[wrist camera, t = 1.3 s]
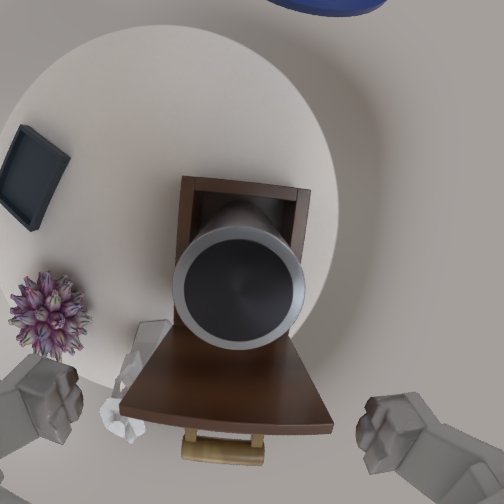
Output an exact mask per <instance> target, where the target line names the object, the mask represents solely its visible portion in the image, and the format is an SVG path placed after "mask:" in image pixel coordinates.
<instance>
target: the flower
mask: <svg viewBox="0 0 504 504" xmlns="http://www.w3.org/2000/svg"><path fill="white" fill-rule="evenodd" d="M67 279H68V276H66V275H64V274H63V276H62V277H61V278H60V279H59V280H55V283H54V282H53V280H52V278H51V276H50V271H48V272H46V273H45V276H44V273H43V272H39V278H38V281H37V284H36V283H35V282H33V281H31V280H30V279H29V278H28V276H27V277H25V278H24V281H25V283H26V287H25V286H23V285H22V284H21V285H19V289H20V290H21V293H22V296H15V295H13V294H11V299H13V300H14V301H15V302H16V304H17V305H18V306H17V307H15V308H11V309H10V313H11V314H14V315H15V317H14V318H12V319H10V320H8V321H9V325H15V326H17V327H19V328H21V331H20V334H19V335H17V337H16V338H17V341H20V340H21V341H20V342H19V343H20V345H21V346H22V347H24V346H25V345H28V344H32V348H33V350H34V354H36V355H40V354H41V353H42V357H44V358H47V354H48V352H49V353H50V355H51V357H52V358H56V360H57V362H60V363H62V358H61V355H62V352H63V351H64V352H65V353H66V351H68V352H69V353H70V354H71V355H72V356H74V354H75V351H74V349H73V348H76V349H78V350H79V351H81V350H82V349H83V348H84V347H83V345H82V344H81V343H80V341H79V337H78V335H81V334H84V335H86V334H87V330H85V329H84V328H83V326H84V325H86V324H88V323H92V317H90V316H87V315H85V314H84V313H87V311H88V310H87V309H83V308H80V307H82V304H81V302H80V301H81V299H82V298H83V297H84V296H85V295H84V292H83V293H80V294H79V293H78V292H77V291H75V292H73V293H71V287H72V285H73V283H72V281H70V280H69V281H68V282H67Z"/></svg>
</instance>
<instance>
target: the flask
mask: <svg viewBox="0 0 504 504" xmlns="http://www.w3.org/2000/svg"><path fill="white" fill-rule="evenodd" d="M172 293H173V300H174V304H175V307H176V309H177V312H178V314H179V316H180V318H181V319H182V321H183V322H184V324H185V325H186V326H187V327H188V328H189V329H190V330H191V332H193V333H194V334H195V335H196V336H197V337H199V338H200V339H202V340H203V341H205V342H207V343H209V344H211V345H214V346H216V347H219V348H224V349H229V350H249V349H255V348H259V347H262V346H264V345H267V344H269V343H271V342H273V341H275V340H276V339H278V338H279V337H281V336H282V335H283V334H284V333H285V332H287V331H288V329H289V328H290V327H291V326H292V325H293V323H294V322H295V320H296V319H297V317H298V315H299V313H300V311H301V309H302V306H303V302H304V297H305V279H304V274H303V270H302V268H301V265H300V263H299V261H298V259H297V257H296V256H295V254H294V253H293V251H292V250H291V248H290V247H289V246H288V244H287V243H286V241H285V240H284V239H283V237H282V236H281V234H280V233H279V231H278V230H277V229H276V227H275V226H274V224H273V223H272V222H271V220H270V219H269V218H268V216H267V215H266V213H265V212H264V211H263V209H262V208H261V207H260V206H258V205H257V204H255V203H253V202H251V201H248V200H234V201H231V202H228V203H226V204H225V205H223V206H222V207H221V208H220V209H219V210H218V211H217V212H216V214H215V215H214V216H213V217H212V218H211V220H210V221H209V222H208V223H207V224H206V226H205V227H204V228H203V229H202V230H201V232H200V233H199V234H198V235H197V236H196V238H195V239H194V240H193V241H192V243H191V244H190V245H189V246H188V247H187V249H186V250H185V251H184V253H183V254H182V256H181V257H180V259H179V261H178V263H177V265H176V268H175V271H174V275H173V280H172Z"/></svg>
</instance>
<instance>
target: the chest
mask: <svg viewBox="0 0 504 504" xmlns="http://www.w3.org/2000/svg"><path fill="white" fill-rule="evenodd" d="M310 194H311V190H308V189H301V188H293V187H286V186H278V185H270V184H262V183H254V182H245V181H235V180H225V179H215V178H204V177H192V176H182V182H181V192H180V204H179V216H178V229H177V245H176V263H175V268H176V265H177V263H178V261H179V259H180V257H181V256H182V254H183V253H184V251H185V250H186V249H187V247H188V246H189V245H190V244H191V243H192V241H193V240H194V239H195V238H196V236H197V235H198V234H199V233H200V232H201V230H202V229H203V228H204V227H205V226H206V224H207V223H208V222H209V221H210V220H211V218H212V217H213V216H214V215H215V214H216V212H217V211H218V210H219V209H220V208H221V207H222V206H223V205H225V204H226V203H228V202H231V201H234V200H248V201H251V202H253V203H255V204H257V205H258V206H260V207H261V208H262V209H263V211H264V212H265V213H266V215H267V216H268V218H269V219H270V220H271V222H272V223H273V224H274V226H275V227H276V229H277V230H278V231H279V233H280V234H281V236H282V237H283V239H284V240H285V241H286V243H287V244H288V246H289V247H290V248H291V250H292V251H293V253H294V254H295V256H296V257H297V259H298V261H299V263H300V264H301V258H302V251H303V245H304V238H305V231H306V224H307V217H308V210H309V202H310ZM174 325H180V326H186V325H185V324H184V322H183V321H182V319H181V318H180V316H179V314H178V312H177V309H176V307H175V304H174ZM288 334H289V329H288V331H287V332H285V333H284V334H283V335H282V336H288Z"/></svg>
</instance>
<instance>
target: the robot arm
mask: <svg viewBox="0 0 504 504" xmlns="http://www.w3.org/2000/svg"><path fill="white" fill-rule="evenodd" d="M78 379H79V378H78V374H77V370H76V369H75V368H74V367H72V366H69V365H66V364H63V363H60V362H57V361H54V360H51V359H48V358H44V357H42V356H39V355H36V354H29V355H28V356H27V357H26V358H25V359H24V360H23V361H22V362H20V363H19V364H18V365H17V366H16V367H15V368H14V369H13V370H12V371H11V372H10V373H9V374H8V375H7V376H6V377H5V378H4V379H3V380H2V381H1V380H0V459H1V458H3V457H5V456H7V455H8V454H10V453H12V452H14V451H16V450H18V449H19V448H21V447H23V446H25V445H26V444H28V443H30V442H32V441H33V440H35V439H37V438H39V436H40V437H43V438H45V439H48V440H50V441H53V442H56V443H58V444H61V445H63V444H64V442H65V441H66V439H67V437H68V436H69V434H70V432H71V430H72V429H71V425H70V423H72V422H74V421H77V420H78V419H79V417H80V415H81V413H82V408H83V395H82V391H81V389H80V388H79V387H78V386H77V385H76V382H77V381H78ZM365 409H366V412H367V413H366V414H364V415H363V416H362V417H361V418H360V419H359V421H358V424H357V426H356V441H357V444H358V447H359V448H360V449H362V450H363V451H365V452H366V453H365V455H364V458H363V459H364V462H365V464H366V467H367V469H368V472H369V474H370V475H372V474H378V473H384V472H390V471H395V470H396V473H397V474H399V475H400V476H401V477H402V478H404V479H405V480H406V481H407V482H409V483H410V484H411V485H413V486H414V487H415V488H416V489H418V490H419V491H420V492H421V493H423V494H424V495H425V496H427V497H428V498H429V499H431V500H432V501H433V502H435V503H436V504H504V452H503V451H502V450H501V449H498V448H496V447H494V446H492V445H489V444H487V443H485V442H483V441H481V440H478V439H476V438H474V437H472V436H470V435H468V434H466V433H464V432H462V431H459V430H457V429H455V428H453V427H451V426H449V425H447V424H441V423H440V422H439V420H438V419H437V418H436V416H435V415H434V414H433V412H432V411H431V409H430V408H429V407H428V406H427V404H426V403H425V402H424V400H423V399H422V397H421V396H420V395H419V394H418V393H416V392H410V393H402V394H397V395H387V396H377V397H370V399H369V400H368V401H367V403H366V405H365ZM3 479H4V475H3V472H2V471H1V470H0V484H1V482H2V480H3ZM0 504H31V503H29V502H27V501H26V500H24V499H22V498H20V497H19V496H16V495H15V494H13V493H12V492H10V491H8V490H7V489H5V488H3V487H2V486H0Z"/></svg>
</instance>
